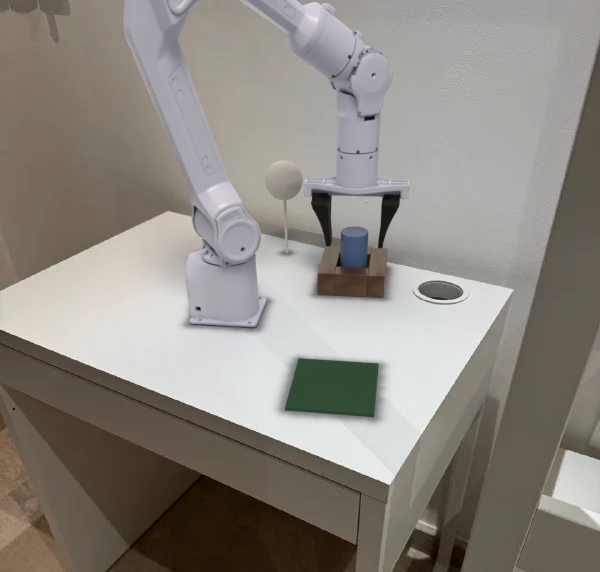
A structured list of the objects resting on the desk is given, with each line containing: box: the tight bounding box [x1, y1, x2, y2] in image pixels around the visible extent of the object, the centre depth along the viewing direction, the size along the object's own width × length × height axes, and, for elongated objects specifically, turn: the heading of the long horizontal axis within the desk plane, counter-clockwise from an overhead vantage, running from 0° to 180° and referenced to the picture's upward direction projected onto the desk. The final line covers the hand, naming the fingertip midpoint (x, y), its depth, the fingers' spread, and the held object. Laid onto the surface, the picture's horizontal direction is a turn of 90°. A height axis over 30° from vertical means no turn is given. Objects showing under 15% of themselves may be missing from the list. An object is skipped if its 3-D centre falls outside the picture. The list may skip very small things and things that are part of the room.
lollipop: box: [264, 159, 304, 254], centre depth 96 cm, size 6×6×15 cm
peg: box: [340, 226, 369, 268], centre depth 89 cm, size 4×4×8 cm
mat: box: [284, 357, 380, 418], centre depth 70 cm, size 10×10×1 cm
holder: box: [316, 245, 389, 299], centre depth 90 cm, size 10×10×4 cm
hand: (354, 244), depth 87 cm, fingers open, 7 cm apart
